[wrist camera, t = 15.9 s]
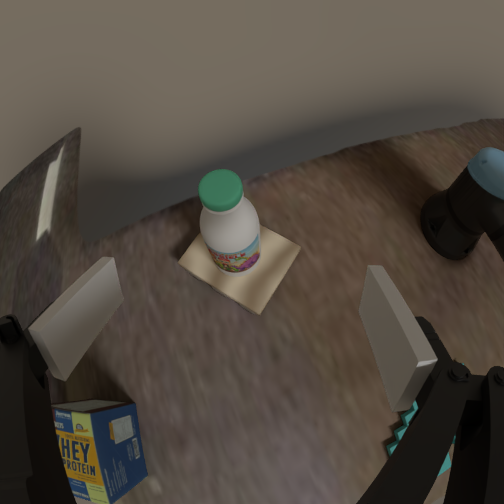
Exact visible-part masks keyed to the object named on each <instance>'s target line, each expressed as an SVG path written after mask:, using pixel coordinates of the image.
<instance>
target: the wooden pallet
mask: <svg viewBox="0 0 504 504" xmlns="http://www.w3.org/2000/svg"><path fill="white" fill-rule="evenodd" d="M259 226H260V239H261V259H260V262H259V264H258V266H257V267H256V268H255V269H254V270H253V271H252V272H251V273H249V274H247V275H245V276H241V277H232V276H229V275H226V274H224V273H223V272H221V271H220V270H219V269H218V267H217V266H216V264H215V262H214V260H213V258H212V256H211V254H210V252H209V250H208V248H207V246H206V244H205V242H204V239H203V237H202V234H201V231H200V233H199V234H198V235H197V237H196V238H195V239H194V241H193V242H192V244H191V245H190V246H189V248H188V249H187V250H186V252H185V253H184V255H183V256H182V257H181V259H180V260H179V262H178V264H179V265H180V266H181V267H183V268H184V269H186V271H187V272H188V273H189V274H190V275H192V276H193V277H195V278H196V279H198V280H200V281H201V280H203V281H204V282H206V283H207V284H209V285H210V286H212V288H213V289H214V290H215V291H216V292H218V293H219V294H221V295H223V296H224V297H227V296H228V297H229V298H231V299H233V300H234V301H236V302H237V303H239V305H240V306H241V307H242V308H243V309H245V310H246V311H248V312H250V313H252V314H257V315H259V316H260V314H261V313H262V311H263V310H264V308H265V307H266V305H267V303H268V302H269V300H270V299H271V297H272V295H273V294H274V292H275V291H276V289H277V287H278V286H279V284H280V283H281V281H282V279H283V278H284V276H285V274H286V273H287V271H288V270H289V268H290V266H291V265H292V263H293V261H294V260H295V258H296V256H297V255H298V253H299V251H300V249H301V247H300V246H298V245H297V244H295V243H293V242H291V241H289V240H288V239H286V238H284V237H282V236H280V235H278V234H277V233H275V232H273V231H271V230H269V229H267V228H266V227H264V226H262V225H260V224H259Z"/></svg>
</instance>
